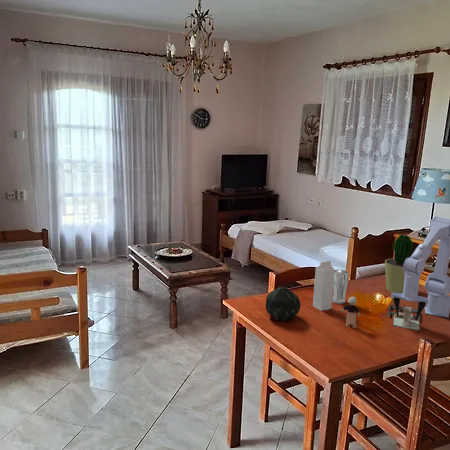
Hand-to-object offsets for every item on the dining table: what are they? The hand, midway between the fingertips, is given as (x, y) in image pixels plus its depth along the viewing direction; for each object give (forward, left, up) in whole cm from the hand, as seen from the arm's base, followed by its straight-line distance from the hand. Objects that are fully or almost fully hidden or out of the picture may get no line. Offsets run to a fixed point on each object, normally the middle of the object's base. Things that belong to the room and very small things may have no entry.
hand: (407, 316), depth 185 cm
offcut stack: (+1, -6, -4) cm, 7 cm away
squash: (+50, +16, -4) cm, 53 cm away
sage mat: (0, 0, -3) cm, 3 cm away
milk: (+36, -2, -4) cm, 36 cm away
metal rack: (+1, -10, -3) cm, 11 cm away
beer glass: (+30, -13, -4) cm, 33 cm away
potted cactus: (+4, -42, -4) cm, 43 cm away
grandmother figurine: (+22, +12, -4) cm, 25 cm away
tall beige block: (0, 0, -3) cm, 3 cm away
